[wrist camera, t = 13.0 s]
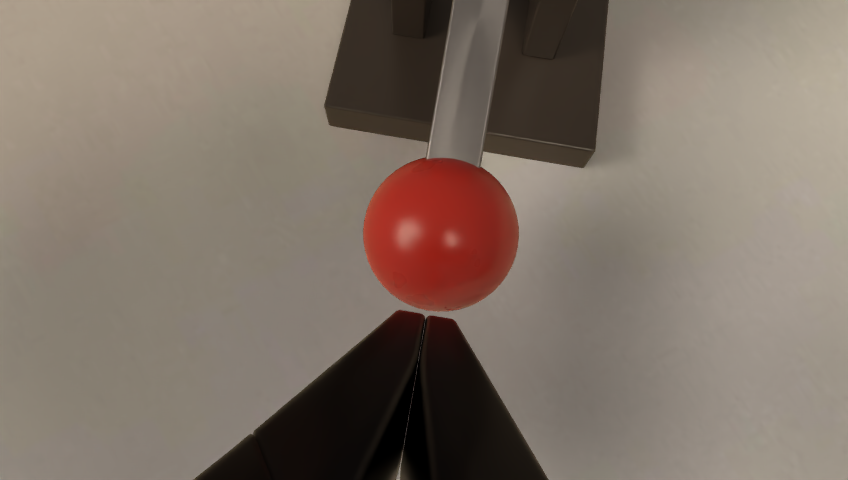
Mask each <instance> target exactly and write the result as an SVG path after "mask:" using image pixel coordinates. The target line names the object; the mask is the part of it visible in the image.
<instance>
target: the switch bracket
mask: <svg viewBox="0 0 848 480" xmlns="http://www.w3.org/2000/svg"><path fill="white" fill-rule="evenodd" d="M452 3H453V0H351V3H350V7H349V10H348V14H347V18H346V22H345V26H344V30H343V34H342V38H341V42H340V46H339V50H338V53H337V57H336V61H335V65H334V69H333V73H332V77H331V81H330V85H329V89H328V92H327V96H326V100H325V104H324V107H325V110H326V114H327V118H328V122H329V125H331V126H336V127H342V128H348V129H354V130H360V131H365V132H371V133H377V134H383V135H389V136H395V137H401V138H407V139H413V140H419V141H425V142H429V137H430V131H431V125H432V119H433V113H434V108H435V102H436V96H437V90H438V84H439V78H440V73H441V67H442V61H443V55H444V49H445V43H446V38H447V32H448V26H449V20H450V14H451V8H452ZM608 3H609V0H509V5H508V10H507V16H506V22H505V28H504V33H503V39H502V45H501V51H500V57H499V62H498V68H497V74H496V80H495V85H494V91H493V97H492V103H491V108H490V114H489V120H488V126H487V131H486V137H485V143H484V149H483V151H485V152H491V153H497V154H502V155H508V156H514V157H520V158H526V159H532V160H538V161H544V162H550V163H556V164H562V165H568V166H574V167H580V168H584V166H585V165H586V164H587V162H588V161H589V159H590V158H591V156H592V155H593V153H594V152H595V148H596V137H597V126H598V115H599V104H600V93H601V81H602V70H603V59H604V48H605V37H606V25H607V14H608Z"/></svg>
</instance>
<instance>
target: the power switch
mask: <svg viewBox="0 0 848 480" xmlns="http://www.w3.org/2000/svg"><path fill="white" fill-rule="evenodd" d="M508 5H509V0H453V3H452V8H451V14H450V20H449V26H448V32H447V38H446V43H445V49H444V55H443V61H442V67H441V73H440V78H439V84H438V90H437V96H436V102H435V108H434V113H433V119H432V125H431V131H430V137H429V143H428V148H427V154H426V158H422V159H418V160H415V161H412V162H410V163H408V164H406V165H404V166H402V167H401V168H399V169H397V170H396V171H395V172H393V173H392V174H391V175H390V176H388V177H387V178H386V179H385V181H384V182H383V183H382V184H381V185H380V186H379V188H378V189H377V190H376V192H375V194H374V195H373V197H372V199H371V201H370V203H369V206H368V209H367V211H366V216H365V220H364V228H363V241H364V247H365V252H366V256H367V259H368V262H369V264H370V266H371V269H372V271H373V272H374V274H375V276H376V277H377V279H378V280H379V281H380V283H381V284H382V285H383V286H384V287H385V288H386V289H387V290H388V291H389V292H390V293H391V294H392V295H394V296H395V297H396V298H398V299H399V300H401V301H403V302H405V303H407V304H408V305H411V306H414V307H416V308H419V309H423V310H428V311H437V312H442V311H453V310H459V309H462V308H466V307H469V306H471V305H473V304H476V303H478V302H479V301H481V300H483V299H484V298H486V297H487V296H488V295H490V294H491V293H492V292H493V291H494V290H495V289H496V288H497V287H498V286H499V285H500V284H501V283H502V281H503V280H504V279H505V277H506V276H507V274H508V272H509V271H510V269H511V267H512V264H513V262H514V259H515V256H516V252H517V248H518V240H519V226H518V220H517V215H516V212H515V208H514V205H513V203H512V201H511V199H510V197H509V195H508V194H507V192H506V190H505V189H504V187H503V186H502V185H501V184H500V183H499V181H498V180H497V179H496V178H495V177H494V176H492V175H491V174H490V173H489V172H487V171H486V170H485V169H483V168H482V167H480V166H481V160H482V155H483V149H484V143H485V137H486V131H487V126H488V120H489V114H490V108H491V103H492V97H493V91H494V85H495V80H496V74H497V68H498V62H499V57H500V51H501V45H502V39H503V33H504V28H505V22H506V16H507V10H508Z"/></svg>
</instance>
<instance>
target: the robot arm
mask: <svg viewBox="0 0 848 480" xmlns="http://www.w3.org/2000/svg"><path fill="white" fill-rule="evenodd" d="M424 324H425V326H424ZM423 330H424V332H423ZM422 336H423V338H422ZM421 342H422V344H421ZM420 347H421V350H420ZM419 353H420V355H419ZM418 359H419V361H418ZM417 365H418V367H417ZM416 371H417V373H416ZM415 377H416V379H415ZM414 382H415V385H414ZM413 388H414V390H413ZM412 394H413V396H412ZM411 400H412V402H411ZM410 406H411V408H410ZM409 412H410V414H409ZM408 417H409V420H408ZM407 423H408V425H407ZM406 429H407V431H406ZM405 435H406V437H405ZM404 441H405V443H404ZM403 447H404V449H403ZM402 452H403V455H402ZM401 457H402V463H401V471H400V480H549V479H548V478H547V476H546V474H545V473H544V471H543V469H542V468H541V466H540V464H539V462H538V461H537V459H536V457H535V456H534V454H533V452H532V451H531V449H530V447H529V445H528V444H527V442H526V440H525V439H524V437H523V435H522V434H521V432H520V430H519V428H518V427H517V425H516V423H515V422H514V420H513V418H512V417H511V415H510V413H509V411H508V410H507V408H506V406H505V405H504V403H503V401H502V400H501V398H500V396H499V394H498V393H497V391H496V389H495V388H494V386H493V384H492V382H491V381H490V379H489V377H488V376H487V374H486V372H485V371H484V369H483V367H482V365H481V364H480V362H479V360H478V359H477V357H476V355H475V354H474V352H473V350H472V348H471V347H470V345H469V343H468V342H467V340H466V338H465V337H464V335H463V333H462V331H461V330H460V328H459V326H458V325H457V323H456V322H455V321H454V320H453V319H449V318H443V317H437V316H428V317H427V318H426V320H425V316H424V315H423V314H420V313H414V312H408V311H403V310H398V311H396V312H395V313H394V314H392V315H391V316H390V317H389V318H388V319H387V320H385V321H384V322H383V323H382V324H381V325H379V326H378V327H377V328H376V329H375V330H373V331H372V332H371V333H370V334H369V335H367V336H366V337H365V338H364V339H363V340H362V341H360V342H359V343H358V344H357V345H356V346H354V347H353V348H352V349H351V350H350V351H348V352H347V353H346V354H345V355H344V356H342V357H341V358H340V359H339V360H338V361H337V362H335V363H334V364H333V365H332V366H331V367H329V368H328V369H327V370H326V371H325V372H323V373H322V374H321V375H320V376H319V377H318V378H316V379H315V380H314V381H313V382H312V383H310V384H309V385H308V386H307V387H306V388H304V389H303V390H302V391H301V392H300V393H298V394H297V395H296V396H295V397H294V398H293V399H291V400H290V401H289V402H288V403H287V404H285V405H284V406H283V407H282V408H281V409H279V410H278V411H277V412H276V413H275V414H274V415H272V416H271V417H270V418H269V419H268V420H266V421H265V422H264V423H263V424H262V425H260V426H259V427H258V428H257V429H256V430H255V431H254V433H253V434H250V435H248V436H247V437H246V438H244V439H243V440H242V441H241V442H240V443H239V444H237V445H236V446H235V447H234V448H233V449H231V450H230V451H229V452H228V453H227V454H225V455H224V456H223V457H222V458H220V459H219V460H218V461H216V462H215V463H214V464H213V465H211V466H210V467H209V468H208V469H206V470H205V471H204V472H203V473H201V474H200V475H199V476H197V477H196V478H195V479H194V480H396V478H397V475H398V471H399V467H400V462H401Z"/></svg>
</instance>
